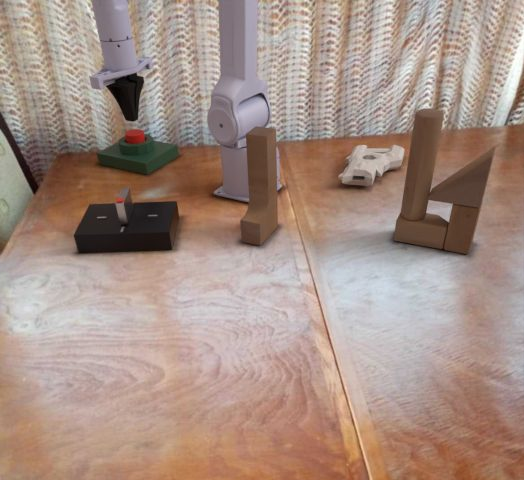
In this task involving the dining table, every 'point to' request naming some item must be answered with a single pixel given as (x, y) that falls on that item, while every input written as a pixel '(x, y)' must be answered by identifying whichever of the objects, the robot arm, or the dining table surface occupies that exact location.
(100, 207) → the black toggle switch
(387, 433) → the dining table surface
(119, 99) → the robot arm
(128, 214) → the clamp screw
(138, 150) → the box
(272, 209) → the wooden block
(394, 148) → the gun
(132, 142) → the release button
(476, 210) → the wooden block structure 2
